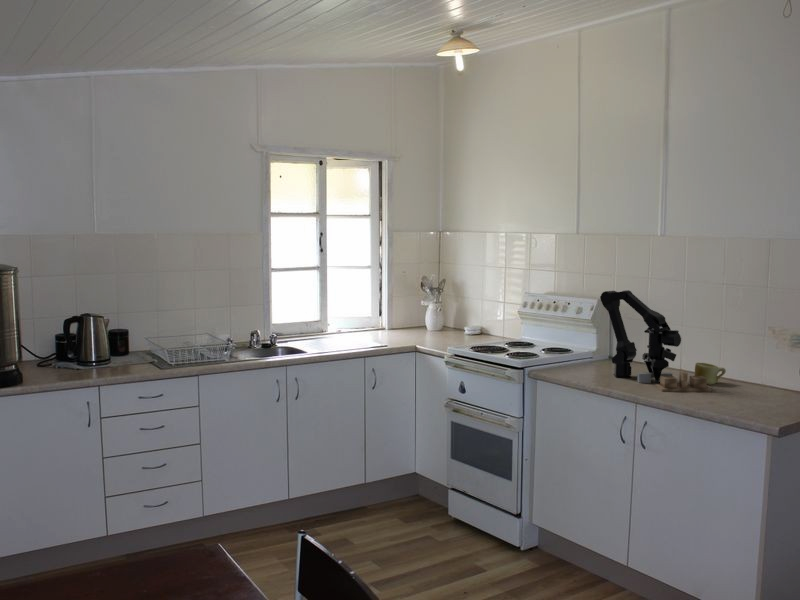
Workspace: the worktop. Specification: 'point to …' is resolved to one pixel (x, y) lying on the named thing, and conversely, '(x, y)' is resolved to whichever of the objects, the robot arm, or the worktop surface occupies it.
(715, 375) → the mug
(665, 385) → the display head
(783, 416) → the worktop surface
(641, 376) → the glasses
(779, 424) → the worktop surface
